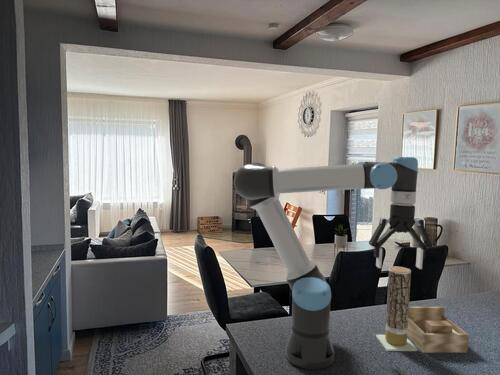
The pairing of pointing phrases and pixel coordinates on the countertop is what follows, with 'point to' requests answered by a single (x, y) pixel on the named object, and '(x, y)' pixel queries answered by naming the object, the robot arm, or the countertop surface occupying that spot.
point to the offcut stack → (438, 327)
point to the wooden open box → (434, 340)
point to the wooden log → (397, 305)
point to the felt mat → (391, 347)
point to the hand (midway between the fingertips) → (398, 267)
